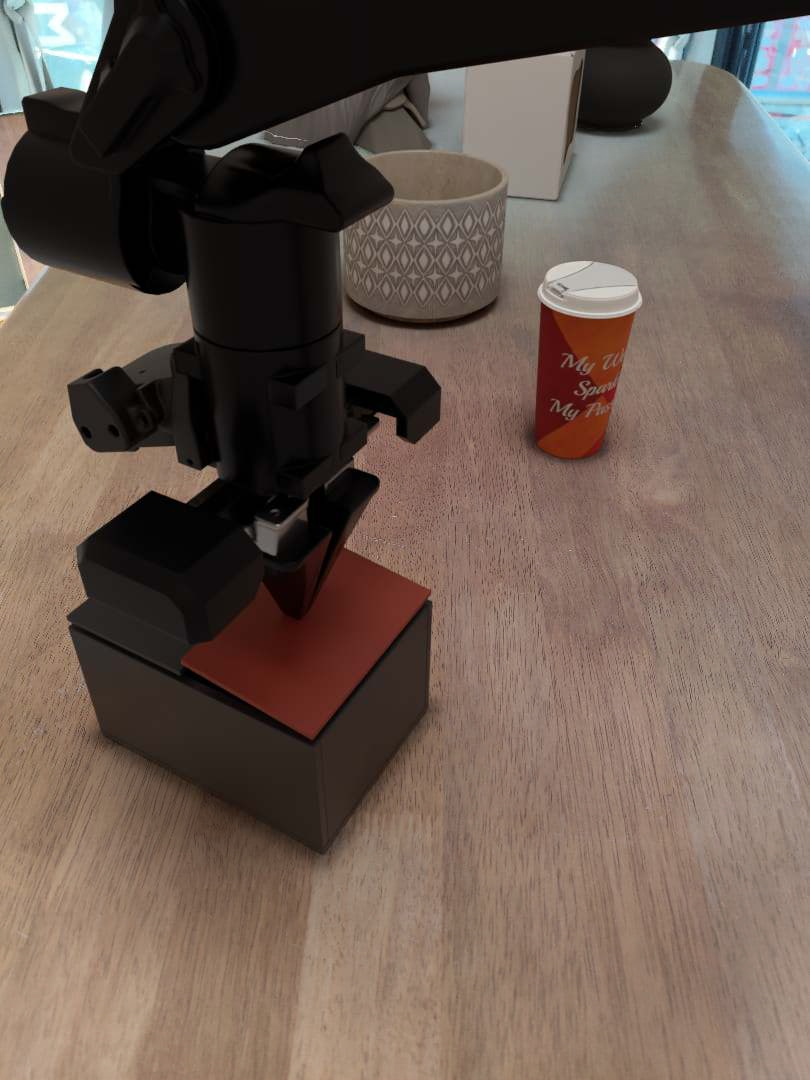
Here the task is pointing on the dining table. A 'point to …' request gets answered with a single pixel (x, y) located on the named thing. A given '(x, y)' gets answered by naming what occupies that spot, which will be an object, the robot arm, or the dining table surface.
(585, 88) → the vase
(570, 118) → the cake box
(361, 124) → the bust
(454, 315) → the planter
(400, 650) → the black flip box
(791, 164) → the dining table surface
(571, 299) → the paper cup
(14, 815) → the dining table surface
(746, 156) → the dining table surface
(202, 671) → the lid
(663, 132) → the dining table surface
